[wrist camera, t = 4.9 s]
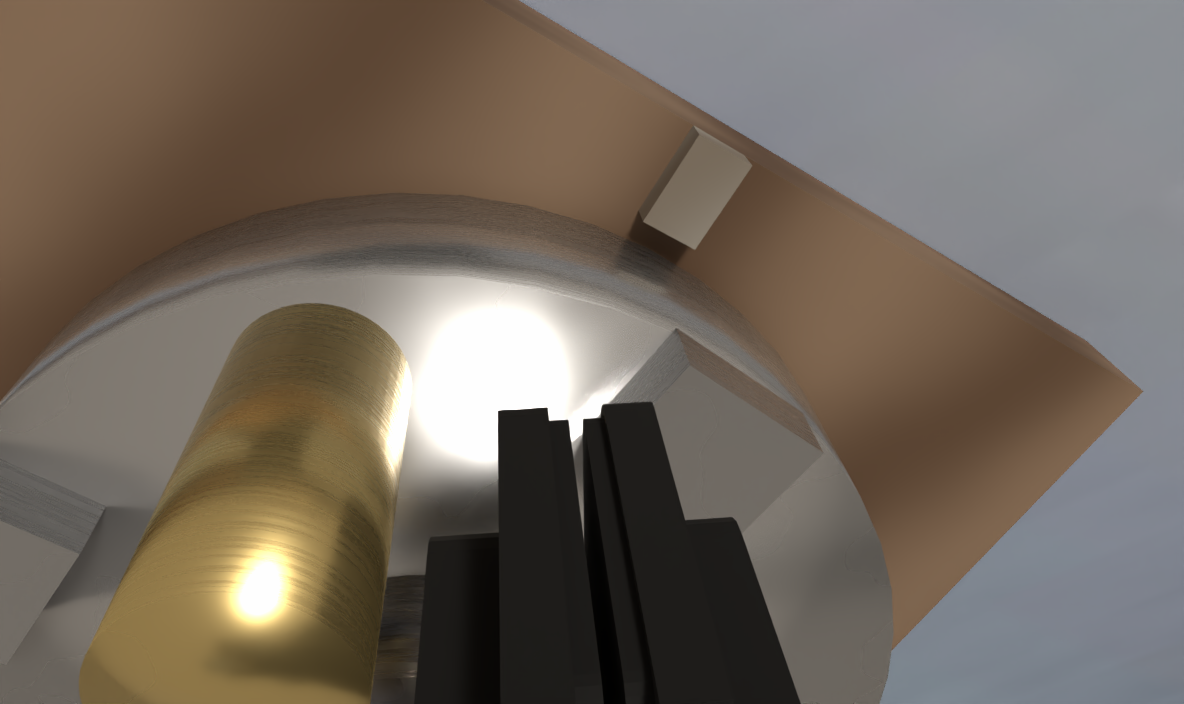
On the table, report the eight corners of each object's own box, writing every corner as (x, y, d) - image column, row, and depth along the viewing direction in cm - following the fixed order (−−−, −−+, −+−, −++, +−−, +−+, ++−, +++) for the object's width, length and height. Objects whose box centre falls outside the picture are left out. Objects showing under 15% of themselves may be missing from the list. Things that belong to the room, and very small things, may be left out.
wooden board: (1086, 341, 20) (1158, 405, 18) (595, 876, 28) (605, 967, 25) (-11, -317, 13) (-111, -344, 11) (-263, 645, 21) (-351, 743, 18)
